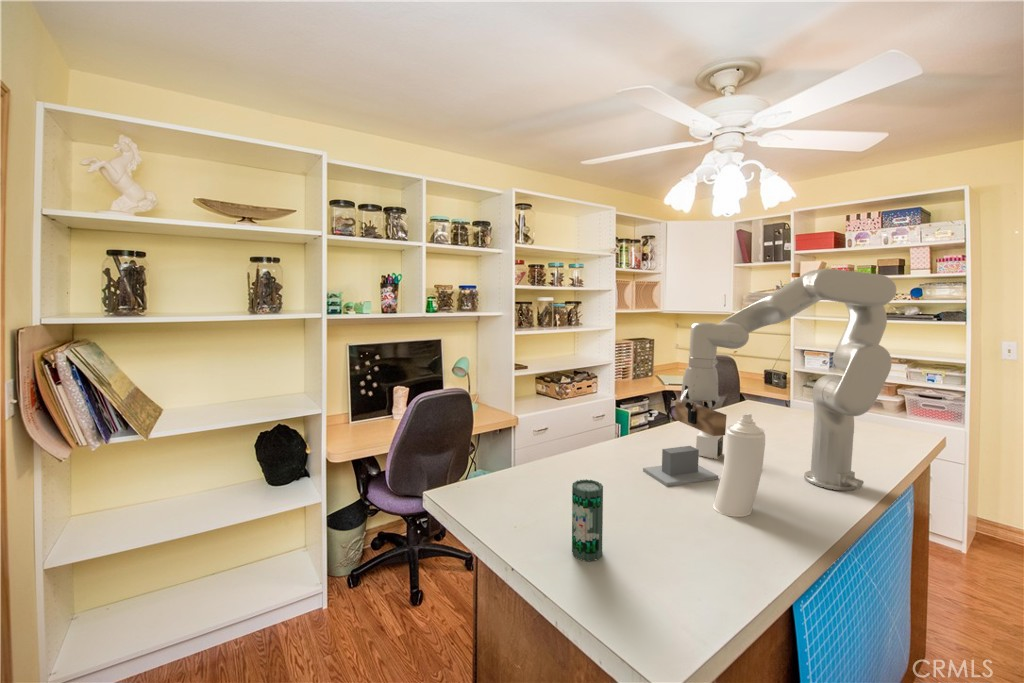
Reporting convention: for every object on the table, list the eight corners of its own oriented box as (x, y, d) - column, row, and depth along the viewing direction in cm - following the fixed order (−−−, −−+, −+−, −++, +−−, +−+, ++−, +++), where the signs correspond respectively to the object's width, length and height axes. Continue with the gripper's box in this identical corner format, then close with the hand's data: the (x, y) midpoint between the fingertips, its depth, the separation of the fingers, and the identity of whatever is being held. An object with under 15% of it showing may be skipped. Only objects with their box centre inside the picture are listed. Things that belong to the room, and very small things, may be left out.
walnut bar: (725, 435, 130) (726, 414, 130) (713, 436, 129) (714, 415, 128) (685, 418, 147) (686, 400, 147) (674, 419, 146) (675, 401, 146)
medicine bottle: (717, 459, 151) (719, 424, 150) (695, 455, 155) (696, 421, 154) (722, 453, 157) (724, 419, 155) (701, 449, 161) (702, 416, 160)
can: (567, 554, 96) (567, 486, 95) (581, 542, 101) (582, 477, 99) (593, 564, 92) (593, 494, 91) (606, 551, 97) (607, 484, 96)
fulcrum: (718, 478, 135) (719, 452, 135) (666, 486, 130) (667, 459, 129) (691, 464, 147) (692, 440, 146) (643, 471, 142) (643, 446, 141)
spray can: (721, 494, 124) (724, 405, 122) (764, 506, 118) (769, 411, 115) (708, 510, 115) (712, 414, 113) (755, 523, 109) (760, 421, 106)
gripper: (716, 361, 142) (712, 417, 144) (670, 362, 138) (667, 421, 139) (734, 364, 135) (730, 424, 137) (686, 366, 130) (682, 428, 132)
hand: (698, 422), depth 138 cm, fingers closed on walnut bar, 4 cm apart
